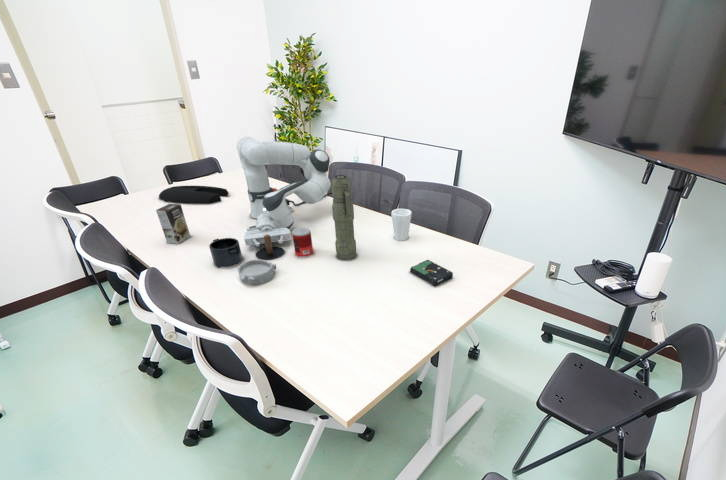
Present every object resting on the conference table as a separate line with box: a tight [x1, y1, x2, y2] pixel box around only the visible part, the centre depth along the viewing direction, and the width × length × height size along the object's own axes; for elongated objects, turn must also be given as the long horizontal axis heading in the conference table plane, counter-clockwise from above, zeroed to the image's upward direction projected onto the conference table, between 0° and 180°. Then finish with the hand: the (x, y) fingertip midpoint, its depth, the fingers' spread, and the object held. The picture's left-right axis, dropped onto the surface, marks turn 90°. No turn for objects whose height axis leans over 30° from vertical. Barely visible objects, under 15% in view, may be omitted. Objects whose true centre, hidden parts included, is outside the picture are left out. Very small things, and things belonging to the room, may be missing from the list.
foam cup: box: [390, 208, 413, 241], centre depth 186 cm, size 10×9×13 cm
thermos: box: [331, 174, 357, 261], centre depth 163 cm, size 9×12×35 cm
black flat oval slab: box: [158, 185, 229, 205], centre depth 234 cm, size 25×41×5 cm, turn 82°
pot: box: [208, 237, 244, 269], centre depth 165 cm, size 11×17×8 cm
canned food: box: [291, 227, 314, 258], centre depth 171 cm, size 8×8×11 cm
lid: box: [255, 235, 286, 261], centre depth 171 cm, size 12×12×9 cm
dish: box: [237, 259, 277, 286], centre depth 155 cm, size 14×14×5 cm
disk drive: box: [409, 259, 454, 287], centre depth 159 cm, size 10×3×15 cm
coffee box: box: [155, 203, 191, 245], centre depth 181 cm, size 9×6×16 cm
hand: (269, 243), depth 171 cm, fingers open, 8 cm apart
